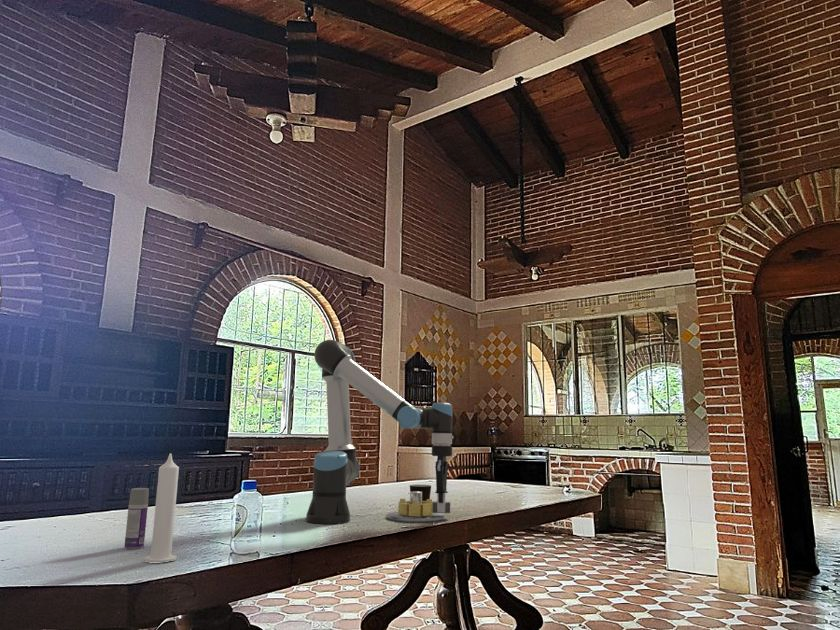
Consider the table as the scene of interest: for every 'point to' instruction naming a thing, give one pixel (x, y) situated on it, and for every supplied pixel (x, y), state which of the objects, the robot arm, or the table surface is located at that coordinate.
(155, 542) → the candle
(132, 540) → the container
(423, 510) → the toy block cluster
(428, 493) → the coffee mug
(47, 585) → the table surface
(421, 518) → the flange plate
